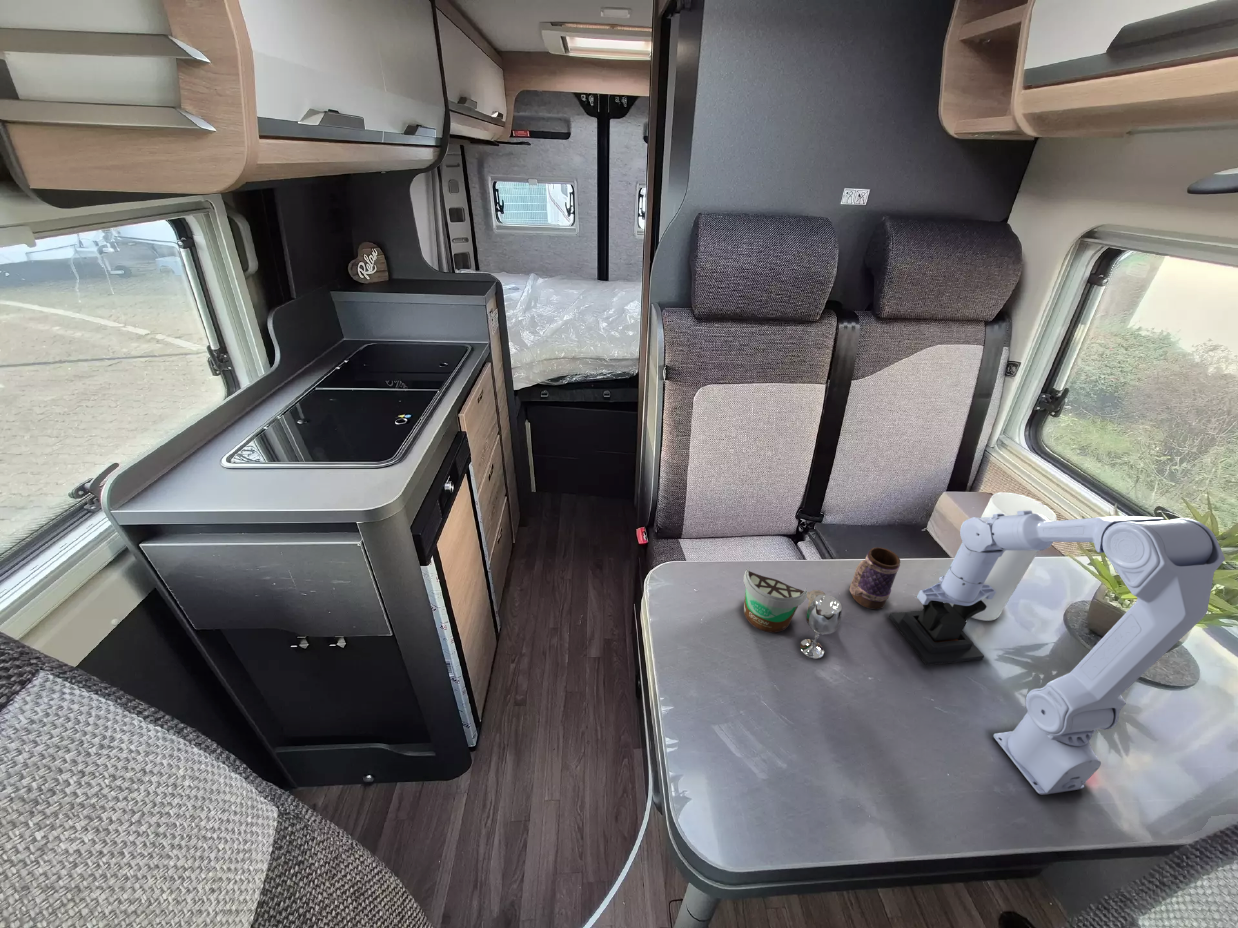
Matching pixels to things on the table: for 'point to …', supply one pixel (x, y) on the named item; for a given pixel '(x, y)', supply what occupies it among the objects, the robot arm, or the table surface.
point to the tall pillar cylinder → (1009, 553)
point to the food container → (770, 602)
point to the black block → (946, 625)
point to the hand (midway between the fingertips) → (940, 625)
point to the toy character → (813, 595)
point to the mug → (875, 578)
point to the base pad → (934, 642)
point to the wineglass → (821, 623)
